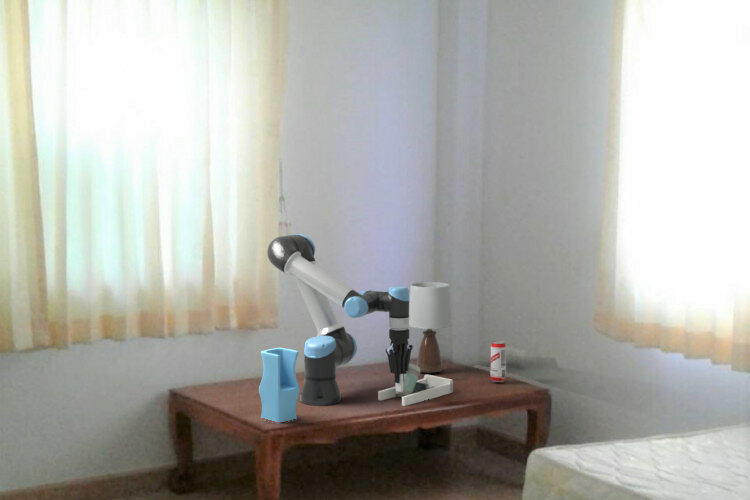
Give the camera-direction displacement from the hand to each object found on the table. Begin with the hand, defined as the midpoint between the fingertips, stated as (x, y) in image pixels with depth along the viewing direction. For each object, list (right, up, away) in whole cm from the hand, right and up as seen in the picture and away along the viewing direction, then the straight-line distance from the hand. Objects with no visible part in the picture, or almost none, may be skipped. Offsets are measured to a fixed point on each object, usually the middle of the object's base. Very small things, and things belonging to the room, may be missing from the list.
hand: (399, 390), depth 339 cm
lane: (+7, -3, +8) cm, 11 cm away
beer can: (+41, -1, +33) cm, 53 cm away
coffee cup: (+1, -3, +3) cm, 4 cm away
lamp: (+14, +1, +52) cm, 54 cm away
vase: (-42, -7, -26) cm, 50 cm away
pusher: (+10, -3, +12) cm, 16 cm away
